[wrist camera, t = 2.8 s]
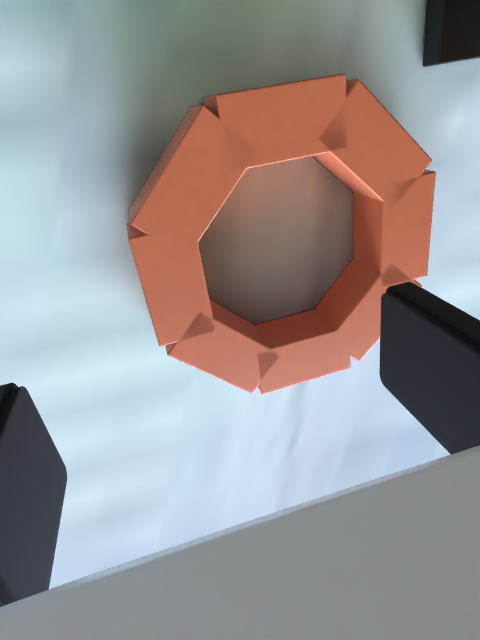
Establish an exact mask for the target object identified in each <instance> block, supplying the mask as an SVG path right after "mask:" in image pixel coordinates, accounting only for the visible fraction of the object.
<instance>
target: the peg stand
mask: <svg viewBox="0 0 480 640" xmlns="http://www.w3.org/2000/svg"><path fill="white" fill-rule="evenodd" d="M474 58H480V0H427V6H426V22H425V38H424V54H423V66H424V67H426V66H432V65H438V64H444V63H450V62H456V61H462V60H468V59H474Z"/></svg>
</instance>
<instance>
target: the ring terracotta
mask: <svg viewBox="0 0 480 640" xmlns="http://www.w3.org/2000/svg"><path fill="white" fill-rule="evenodd" d="M203 104H204V105H197V106H191V107H190V109H189V110H188V112H187V114H186V115H185V117H184V119H183V120H182V122H181V124H180V125H179V127H178V129H177V130H176V132H175V134H174V135H173V137H172V139H171V140H170V142H169V144H168V145H167V147H166V149H165V150H164V152H163V154H162V155H161V157H160V159H159V160H158V162H157V164H156V165H155V167H154V169H153V170H152V172H151V174H150V175H149V177H148V179H147V180H146V182H145V184H144V185H143V187H142V189H141V190H140V192H139V194H138V195H137V197H136V199H135V200H134V202H133V204H132V205H131V207H130V209H129V216H130V223H128V224H127V230H128V240H129V243H130V247H131V250H132V254H133V257H134V261H135V264H136V268H137V271H138V275H139V278H140V282H141V285H142V288H143V292H144V295H145V299H146V302H147V306H148V309H149V313H150V316H151V320H152V323H153V327H154V330H155V334H156V337H157V340H158V344H159V346H164V345H165V346H166V351H167V355H168V356H171V357H173V358H175V359H177V360H179V361H181V362H184V363H186V364H188V365H190V366H192V367H194V368H197V369H199V370H201V371H203V372H205V373H207V374H210V375H212V376H214V377H216V378H218V379H221V380H223V381H225V382H227V383H229V384H231V385H234V386H236V387H238V388H240V389H242V390H244V391H247V392H249V393H253V392H254V390H255V389H256V388H257V386H258V388H259V390H260V392H261V394H265V393H268V392H272V391H275V390H279V389H282V388H285V387H289V386H292V385H295V384H299V383H302V382H305V381H309V380H312V379H316V378H319V377H322V376H326V375H329V374H332V373H336V372H339V371H342V370H346V369H349V368H350V367H351V366H350V357H351V358H353V359H355V360H356V361H361V359H362V358H363V357H364V356H365V355H366V353H367V352H368V351H369V350H370V349H371V347H372V346H373V345H374V344H375V343H376V341H377V340H378V339H379V338H380V324H381V297H382V294H384V293H386V290H387V288H388V287H389V286H393V285H397V284H401V283H405V282H412V283H414V284H416V285H417V286H419V287H422V286H421V284H419V283H418V282H417V281H416V280H415V279H417V278H421V277H425V276H427V270H428V259H429V247H430V235H431V223H432V211H433V199H434V188H435V176H436V172H434V171H429V170H425V169H426V168H427V166H428V165H429V164H430V163H431V161H432V159H431V158H430V157H429V156H428V155H427V154H426V152H425V151H424V150H423V149H422V148H421V147H420V146H419V145H418V144H417V143H416V141H415V140H414V139H413V138H412V137H411V136H410V135H409V134H408V133H407V132H406V130H405V129H404V128H403V127H402V126H401V125H400V124H399V123H398V122H397V121H396V119H395V118H394V117H393V116H392V115H391V114H390V113H389V112H388V111H387V110H386V109H385V107H384V106H383V105H382V104H381V103H380V102H379V101H378V100H377V99H376V98H375V96H374V95H373V94H372V93H371V92H370V91H369V90H368V89H367V88H366V87H365V85H364V84H363V83H362V82H361V81H360V80H359V79H354V80H347V81H346V74H339V75H332V76H326V77H320V78H314V79H308V80H302V81H296V82H290V83H284V84H278V85H272V86H266V87H260V88H254V89H247V90H241V91H235V92H229V93H223V94H217V95H213V96H208V97H204V98H203ZM308 156H313V157H315V158H316V159H317V160H318V161H319V162H320V163H321V164H322V165H324V166H325V167H326V168H327V169H328V170H329V171H330V172H331V173H333V174H334V175H335V176H336V177H337V178H338V179H339V180H340V181H341V182H343V183H344V184H345V185H346V186H347V187H348V188H349V189H350V190H352V191H353V218H354V258H353V260H352V261H351V262H350V264H349V265H348V266H347V268H346V269H345V270H344V271H343V273H342V274H341V275H340V277H339V278H338V279H337V281H336V282H335V283H334V284H333V286H332V287H331V288H330V290H329V291H328V292H327V293H326V295H325V296H324V297H323V299H322V300H321V301H320V303H319V304H318V305H317V306H316V308H315V309H313V310H309V311H305V312H302V313H298V314H294V315H290V316H287V317H283V318H279V319H275V320H272V321H268V322H264V323H260V324H257V325H254V324H252V323H251V322H249V321H247V320H245V319H244V318H242V317H240V316H238V315H237V314H235V313H233V312H231V311H229V310H228V309H226V308H224V307H222V306H221V305H219V304H217V303H215V302H214V301H212V300H210V299H209V294H208V289H207V284H206V279H205V275H204V270H203V265H202V260H201V255H200V250H199V245H198V242H199V240H200V239H201V237H202V236H203V234H204V233H205V231H206V230H207V228H208V227H209V225H210V224H211V222H212V221H213V219H214V218H215V216H216V215H217V213H218V212H219V210H220V209H221V207H222V206H223V204H224V202H225V201H226V199H227V198H228V196H229V195H230V193H231V192H232V190H233V189H234V187H235V186H236V184H237V183H238V181H239V180H240V178H241V177H242V175H243V174H244V172H245V171H246V169H247V168H252V167H257V166H262V165H267V164H273V163H278V162H283V161H288V160H293V159H298V158H303V157H308Z"/></svg>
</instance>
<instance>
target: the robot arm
mask: <svg viewBox="0 0 480 640" xmlns="http://www.w3.org/2000/svg"><path fill="white" fill-rule="evenodd" d="M380 378H381V381H382V383H383V385H384V386H385V387H386V388H387V389H388V390H389V391H390V392H391V393H392V394H393V395H394V396H395V398H396V399H397V400H398V401H399V402H400V403H401V404H402V405H403V406H404V407H405V408H406V409H407V410H408V411H409V412H410V413H411V414H412V415H413V416H414V417H415V418H416V419H417V420H418V421H419V422H420V423H421V424H422V425H423V426H424V427H425V428H426V429H427V430H428V431H429V432H430V434H431V435H432V436H433V437H434V438H435V439H436V440H437V441H438V442H439V443H440V444H441V445H442V446H443V447H444V448H445V449H446V450H447V451H448V452H449V453H450V454H451V455H449V456H446V457H443V458H439V459H436V460H433V461H430V462H427V463H424V464H421V465H418V466H415V467H412V468H409V469H406V470H403V471H400V472H396V473H393V474H390V475H387V476H384V477H381V478H378V479H375V480H372V481H369V482H366V483H363V484H360V485H357V486H354V487H351V488H348V489H345V490H342V491H339V492H336V493H333V494H330V495H327V496H324V497H320V498H317V499H314V500H311V501H308V502H305V503H302V504H299V505H296V506H293V507H290V508H287V509H284V510H281V511H278V512H275V513H272V514H269V515H266V516H263V517H260V518H257V519H254V520H251V521H248V522H245V523H242V524H239V525H236V526H233V527H230V528H227V529H224V530H221V531H218V532H215V533H212V534H210V535H207V536H204V537H201V538H198V539H195V540H192V541H189V542H186V543H183V544H180V545H177V546H174V547H171V548H168V549H165V550H162V551H159V552H156V553H153V554H150V555H147V556H144V557H142V558H139V559H136V560H133V561H130V562H127V563H124V564H121V565H118V566H115V567H112V568H109V569H106V570H103V571H100V572H97V573H94V574H92V575H89V576H86V577H83V578H80V579H78V580H75V581H72V582H69V583H66V584H63V585H61V586H58V587H55V588H52V589H49V584H50V578H51V572H52V566H53V560H54V554H55V548H56V542H57V536H58V530H59V524H60V518H61V512H62V506H63V501H64V495H65V489H66V483H67V472H66V467H65V465H64V463H63V461H62V459H61V457H60V455H59V453H58V451H57V449H56V447H55V445H54V443H53V441H52V439H51V437H50V435H49V433H48V431H47V429H46V427H45V425H44V423H43V421H42V419H41V417H40V415H39V413H38V411H37V409H36V407H35V405H34V403H33V401H32V399H31V397H30V395H29V393H28V391H27V389H26V388H25V387H23V386H21V387H18V386H17V385H16V384H14V383H9V384H5V385H1V386H0V640H480V321H479V320H478V319H476V318H474V317H472V316H471V315H469V314H467V313H465V312H464V311H462V310H460V309H458V308H456V307H455V306H453V305H451V304H449V303H448V302H446V301H444V300H442V299H440V298H439V297H437V296H435V295H433V294H432V293H430V292H428V291H426V290H425V289H423V288H421V287H419V286H417V285H416V284H414V283H412V282H405V283H401V284H397V285H393V286H389V287H388V288H387V290H386V293H384V294H382V297H381V324H380Z"/></svg>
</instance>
